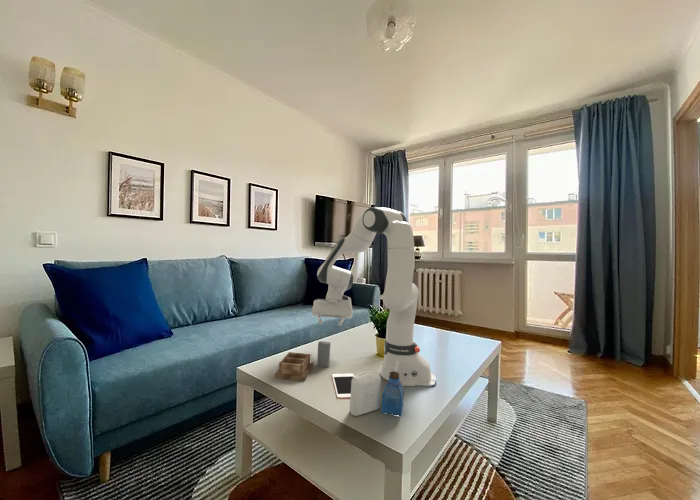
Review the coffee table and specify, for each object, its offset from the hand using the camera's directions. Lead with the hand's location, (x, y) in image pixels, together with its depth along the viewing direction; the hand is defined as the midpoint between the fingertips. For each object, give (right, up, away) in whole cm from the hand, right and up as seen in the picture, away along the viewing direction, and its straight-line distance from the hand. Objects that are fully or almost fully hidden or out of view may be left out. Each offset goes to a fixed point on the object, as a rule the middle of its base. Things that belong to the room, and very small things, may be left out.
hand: (329, 324), depth 138 cm
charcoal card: (-2, -15, -11) cm, 19 cm away
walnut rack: (-13, -15, -19) cm, 27 cm away
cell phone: (+8, -16, -29) cm, 34 cm away
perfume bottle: (+24, -17, -43) cm, 52 cm away
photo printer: (+14, -17, -44) cm, 50 cm away
